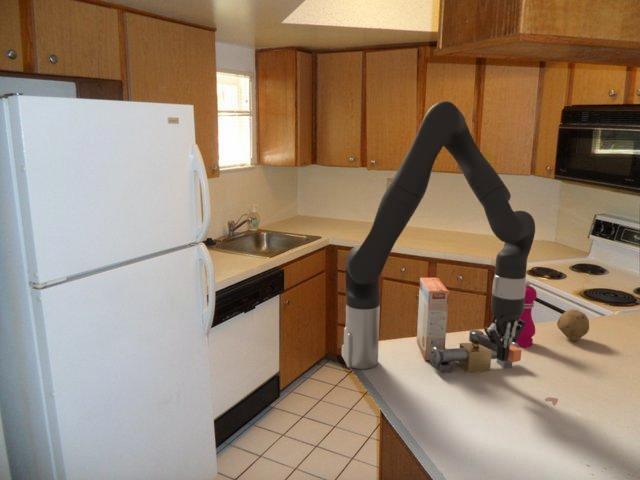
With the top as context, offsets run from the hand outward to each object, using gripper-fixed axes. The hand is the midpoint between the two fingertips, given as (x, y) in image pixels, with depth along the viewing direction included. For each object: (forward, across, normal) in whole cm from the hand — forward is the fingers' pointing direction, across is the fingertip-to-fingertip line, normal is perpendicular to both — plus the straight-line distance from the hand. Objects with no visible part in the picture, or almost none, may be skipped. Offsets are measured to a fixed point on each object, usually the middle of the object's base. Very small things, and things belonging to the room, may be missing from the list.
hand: (502, 359), depth 127 cm
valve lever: (+1, +4, +6) cm, 7 cm away
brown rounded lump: (+8, +45, +10) cm, 47 cm away
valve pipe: (+8, +4, +12) cm, 15 cm away
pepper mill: (+8, +29, +16) cm, 34 cm away
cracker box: (+8, +1, +26) cm, 27 cm away
